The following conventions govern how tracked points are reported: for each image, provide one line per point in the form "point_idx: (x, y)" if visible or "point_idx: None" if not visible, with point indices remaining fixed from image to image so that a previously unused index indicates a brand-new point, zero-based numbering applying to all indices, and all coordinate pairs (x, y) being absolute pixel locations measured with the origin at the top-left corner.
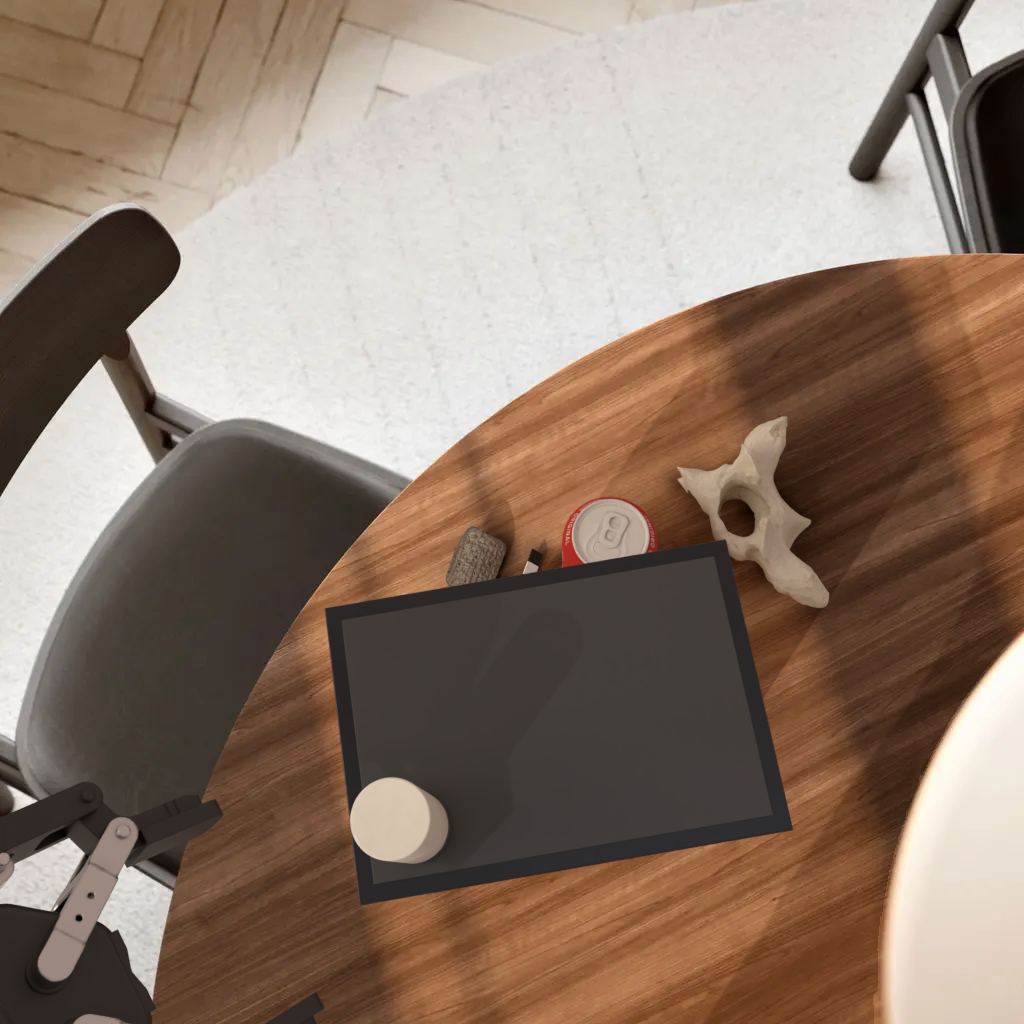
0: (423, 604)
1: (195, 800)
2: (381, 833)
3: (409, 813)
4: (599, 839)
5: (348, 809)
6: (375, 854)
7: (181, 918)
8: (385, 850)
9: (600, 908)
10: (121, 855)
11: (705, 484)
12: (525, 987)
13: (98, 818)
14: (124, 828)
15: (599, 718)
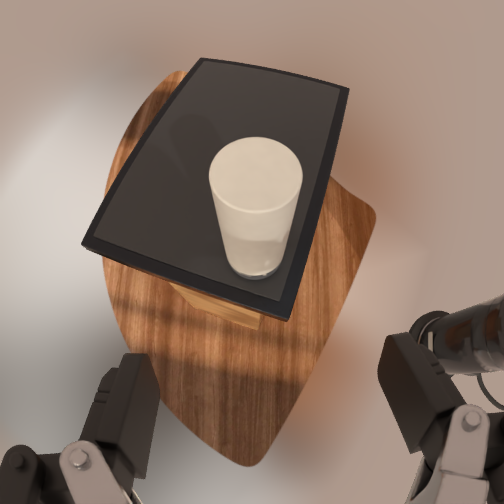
0: (119, 184)
1: (114, 372)
2: (266, 184)
3: (260, 153)
4: (319, 153)
5: (214, 295)
6: (285, 199)
7: (218, 451)
8: (286, 188)
9: (306, 281)
10: (105, 481)
11: None
12: (321, 326)
13: (54, 472)
14: (76, 455)
15: (249, 124)
